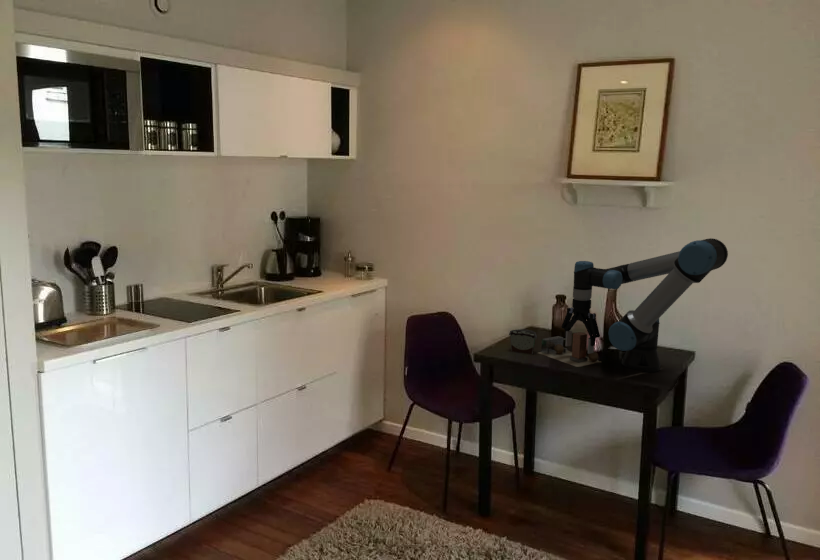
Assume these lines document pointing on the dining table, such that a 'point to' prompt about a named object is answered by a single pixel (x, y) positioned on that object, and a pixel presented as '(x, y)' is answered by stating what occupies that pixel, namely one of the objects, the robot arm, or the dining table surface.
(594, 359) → the nut
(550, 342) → the anvil
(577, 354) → the reddish brown block
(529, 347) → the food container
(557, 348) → the nut
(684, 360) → the dining table surface
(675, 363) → the dining table surface
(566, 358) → the board
